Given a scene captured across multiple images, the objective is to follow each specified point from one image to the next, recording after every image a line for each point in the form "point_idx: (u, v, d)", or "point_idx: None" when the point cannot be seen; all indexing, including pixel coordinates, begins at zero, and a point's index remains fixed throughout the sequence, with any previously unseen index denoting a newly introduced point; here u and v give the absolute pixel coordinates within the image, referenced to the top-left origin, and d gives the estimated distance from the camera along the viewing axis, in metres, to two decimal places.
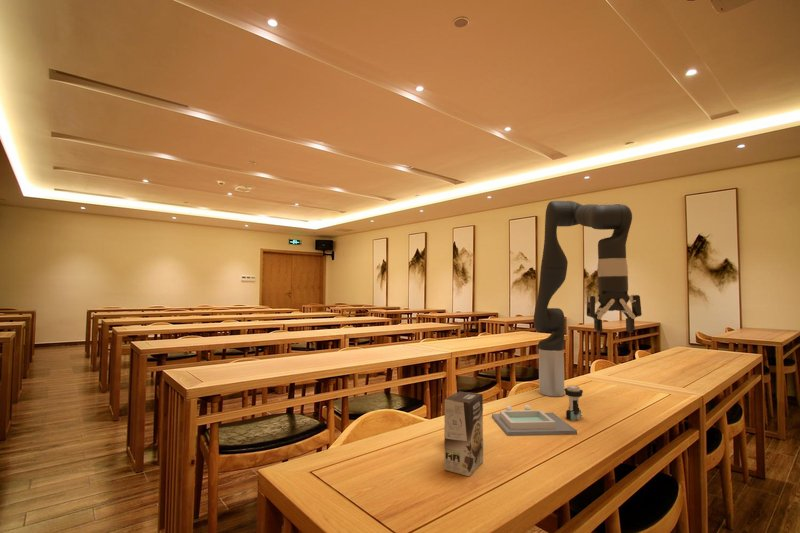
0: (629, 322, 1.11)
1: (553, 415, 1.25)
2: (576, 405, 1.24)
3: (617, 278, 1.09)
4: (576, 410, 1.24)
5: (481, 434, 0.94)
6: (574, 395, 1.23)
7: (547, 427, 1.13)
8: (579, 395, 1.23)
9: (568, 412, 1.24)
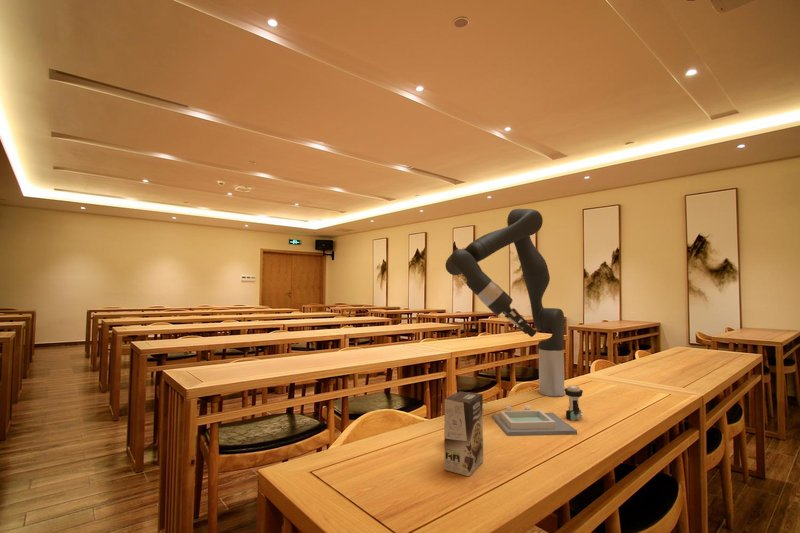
0: None
1: (553, 415, 1.25)
2: (576, 405, 1.24)
3: None
4: (576, 410, 1.24)
5: (481, 434, 0.94)
6: (574, 395, 1.23)
7: (547, 427, 1.13)
8: (579, 395, 1.23)
9: (568, 412, 1.24)
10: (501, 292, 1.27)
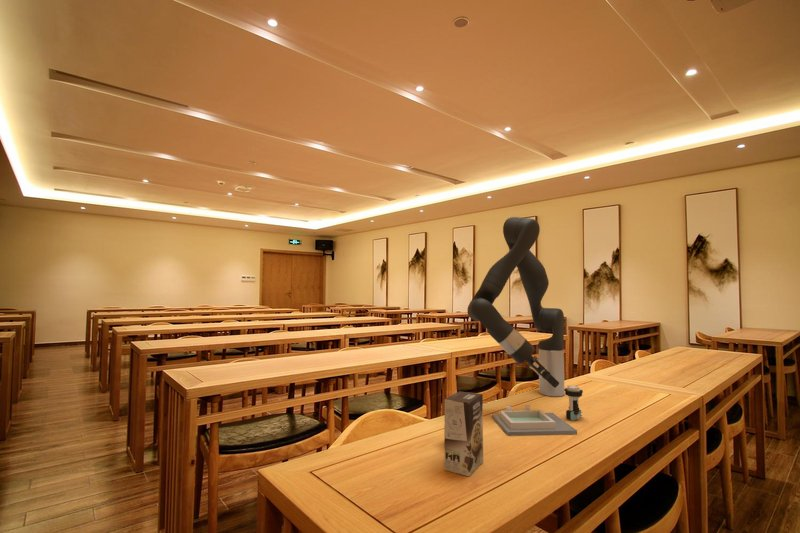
0: None
1: (553, 415, 1.25)
2: (576, 405, 1.24)
3: None
4: (576, 410, 1.24)
5: (481, 434, 0.94)
6: (574, 395, 1.23)
7: (547, 427, 1.13)
8: (579, 395, 1.23)
9: (568, 412, 1.24)
10: (523, 341, 1.26)
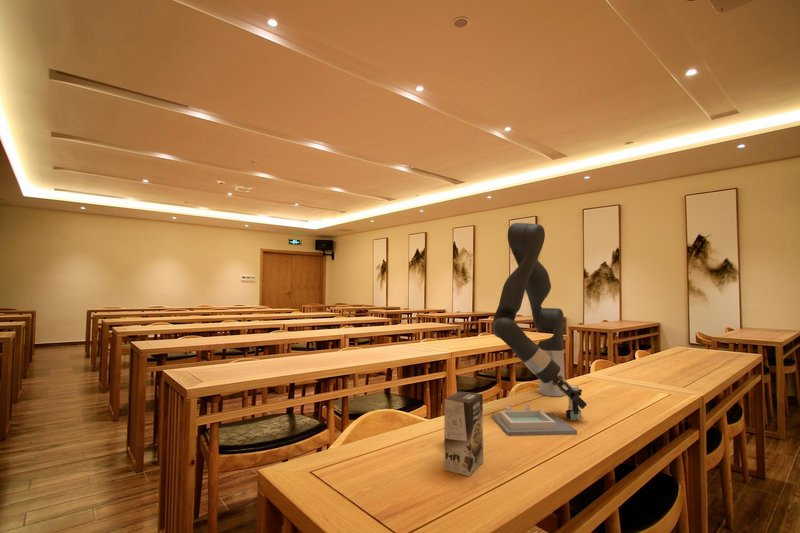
0: None
1: (553, 415, 1.25)
2: (575, 404, 1.24)
3: None
4: (576, 409, 1.24)
5: (481, 434, 0.94)
6: None
7: (547, 427, 1.13)
8: (578, 394, 1.24)
9: (568, 411, 1.24)
10: (549, 360, 1.25)
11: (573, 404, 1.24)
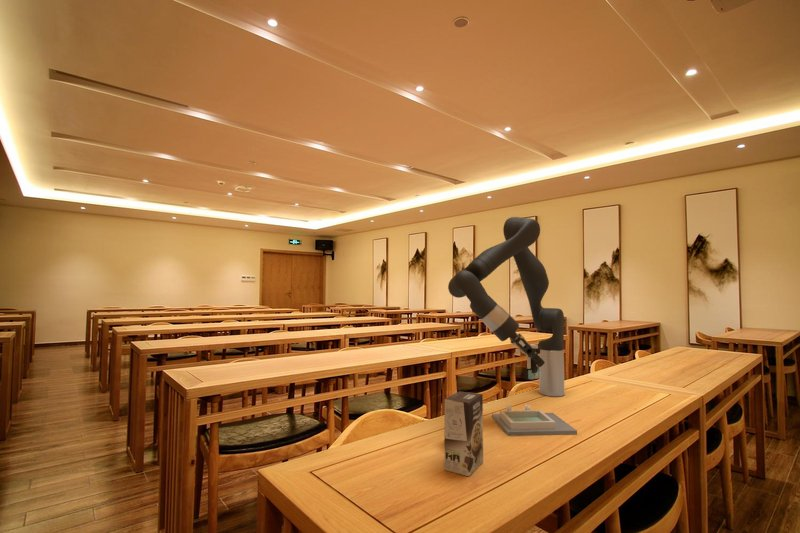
0: None
1: (553, 415, 1.25)
2: (534, 363, 1.19)
3: None
4: (534, 368, 1.18)
5: (481, 434, 0.94)
6: None
7: (547, 427, 1.13)
8: (537, 352, 1.18)
9: (526, 370, 1.19)
10: (507, 317, 1.19)
11: (531, 363, 1.19)
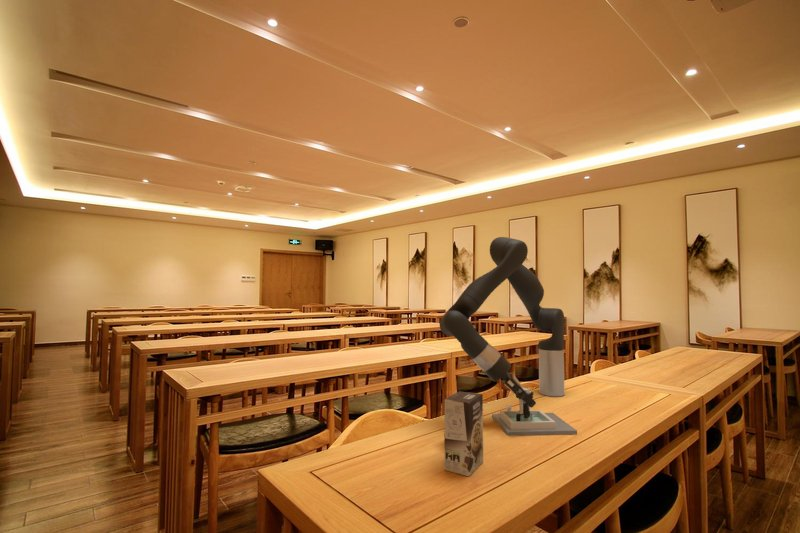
0: None
1: (553, 415, 1.25)
2: (526, 408, 1.17)
3: None
4: (526, 414, 1.17)
5: (481, 434, 0.94)
6: None
7: (547, 427, 1.13)
8: None
9: (518, 415, 1.17)
10: (498, 357, 1.18)
11: (524, 408, 1.17)
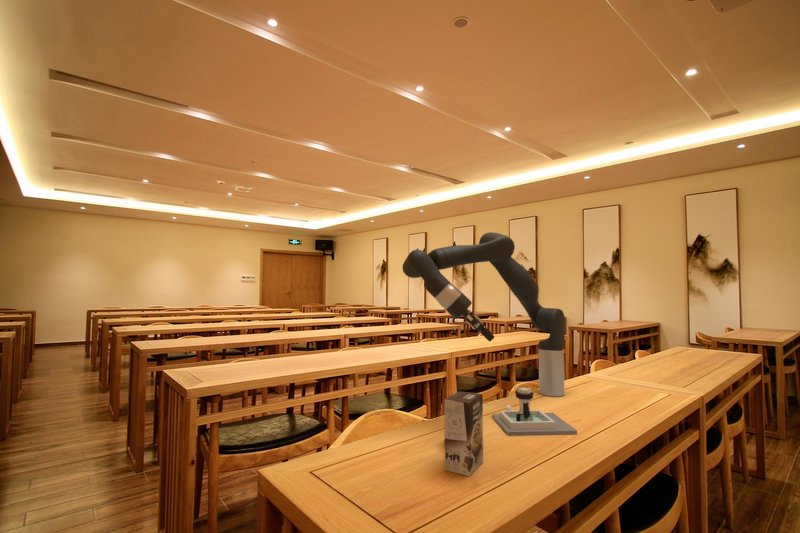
0: None
1: (553, 415, 1.25)
2: (526, 408, 1.17)
3: None
4: (526, 414, 1.17)
5: (481, 434, 0.94)
6: (524, 398, 1.16)
7: (547, 427, 1.13)
8: (529, 398, 1.16)
9: (518, 415, 1.17)
10: (459, 295, 1.21)
11: (524, 408, 1.17)
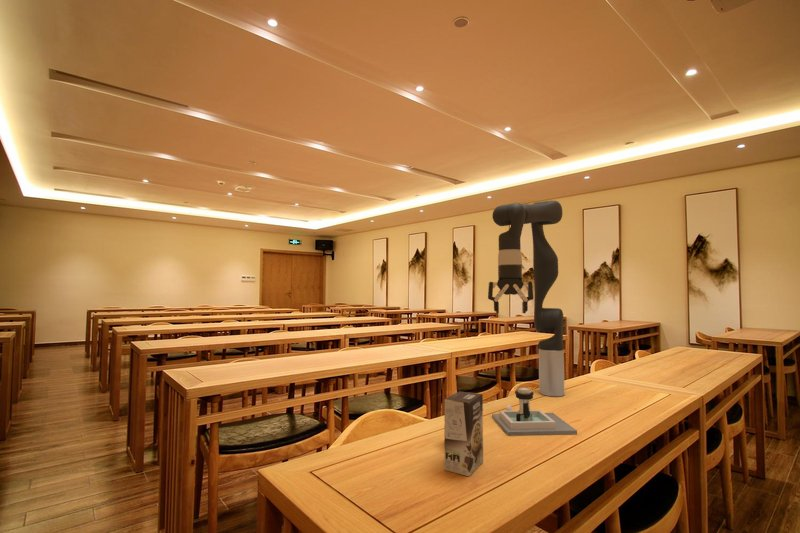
0: (523, 305, 1.29)
1: (553, 415, 1.25)
2: (526, 408, 1.17)
3: (509, 266, 1.27)
4: (526, 414, 1.17)
5: (481, 434, 0.94)
6: (524, 398, 1.16)
7: (547, 427, 1.13)
8: (529, 398, 1.16)
9: (518, 415, 1.17)
10: None
11: (524, 408, 1.17)
